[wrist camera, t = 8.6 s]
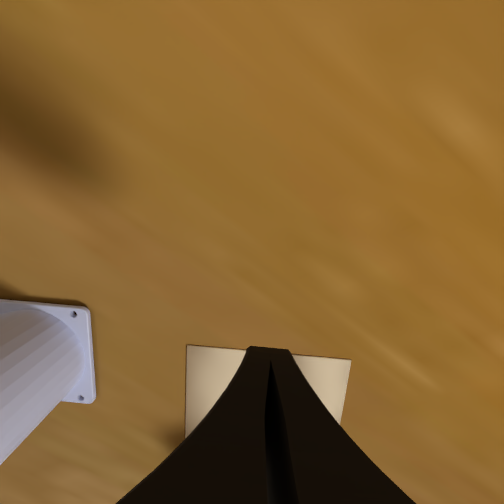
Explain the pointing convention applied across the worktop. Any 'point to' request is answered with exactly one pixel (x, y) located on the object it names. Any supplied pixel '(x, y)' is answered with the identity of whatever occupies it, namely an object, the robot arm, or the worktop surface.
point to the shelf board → (227, 363)
